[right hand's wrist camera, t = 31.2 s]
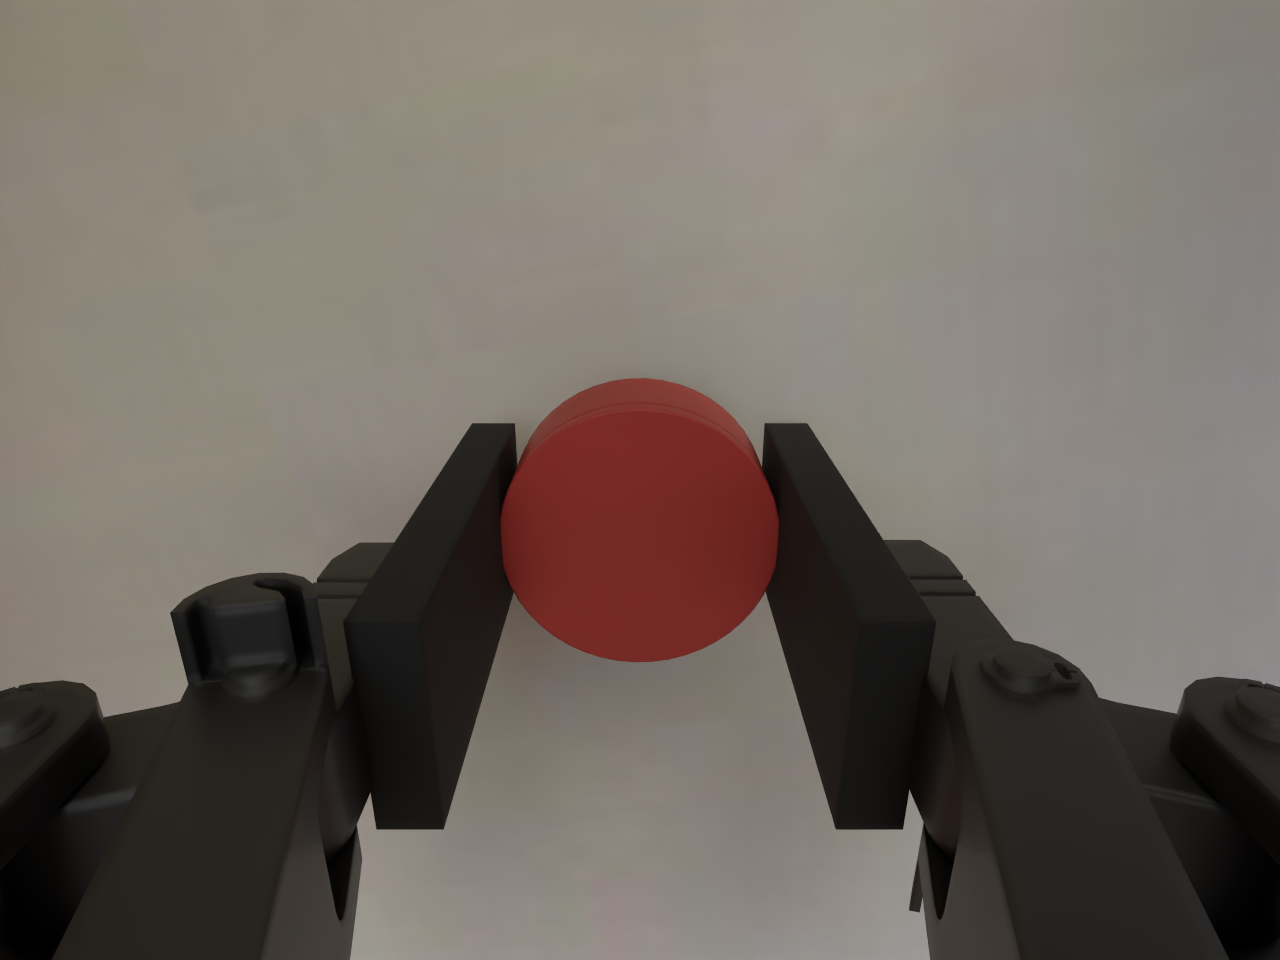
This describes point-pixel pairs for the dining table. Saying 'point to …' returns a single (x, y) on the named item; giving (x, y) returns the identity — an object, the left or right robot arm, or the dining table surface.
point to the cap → (639, 522)
